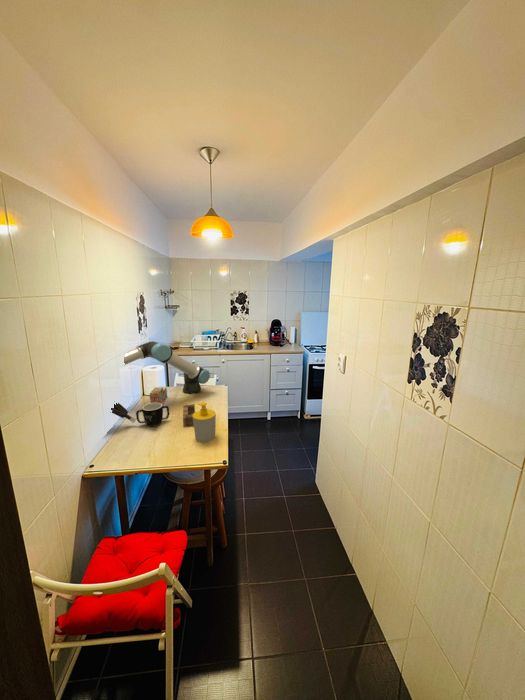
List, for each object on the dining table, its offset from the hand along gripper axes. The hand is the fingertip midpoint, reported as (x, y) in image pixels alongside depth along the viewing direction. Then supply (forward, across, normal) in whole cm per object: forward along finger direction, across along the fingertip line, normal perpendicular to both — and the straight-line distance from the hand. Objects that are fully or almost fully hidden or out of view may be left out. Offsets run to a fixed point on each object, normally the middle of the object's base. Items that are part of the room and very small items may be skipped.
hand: (135, 420), depth 175 cm
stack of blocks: (+11, -35, +5) cm, 37 cm away
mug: (+10, 0, +5) cm, 12 cm away
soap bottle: (+32, +27, +27) cm, 50 cm away
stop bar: (+26, 0, +21) cm, 33 cm away
